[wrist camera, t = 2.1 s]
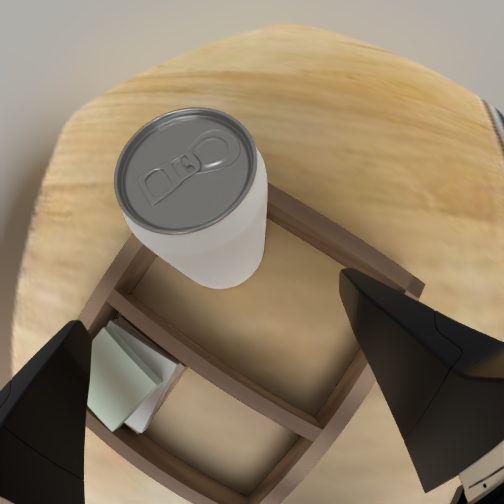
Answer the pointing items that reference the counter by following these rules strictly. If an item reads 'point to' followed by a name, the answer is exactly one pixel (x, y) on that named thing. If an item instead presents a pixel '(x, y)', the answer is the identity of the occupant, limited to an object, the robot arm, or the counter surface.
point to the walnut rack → (232, 382)
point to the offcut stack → (129, 376)
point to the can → (196, 194)
